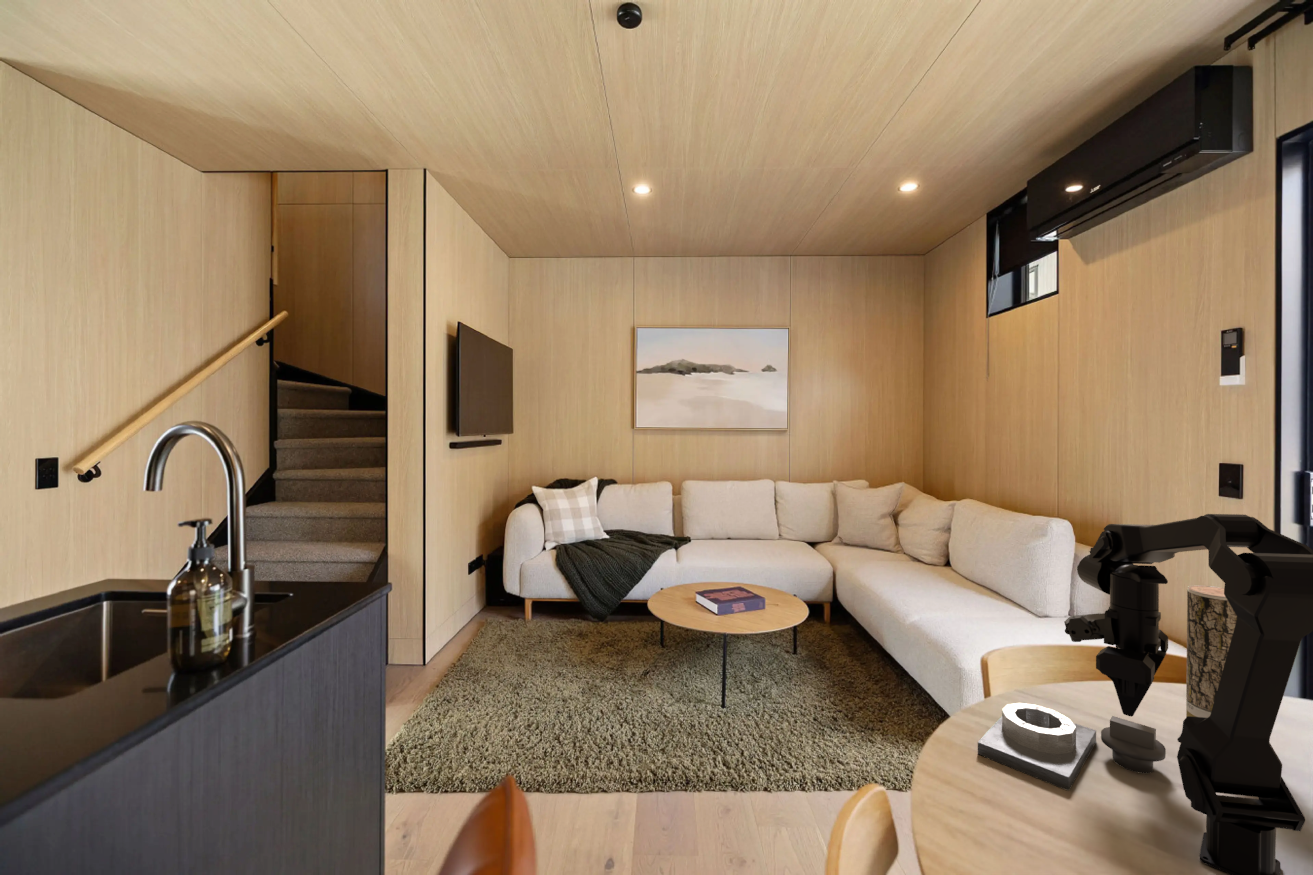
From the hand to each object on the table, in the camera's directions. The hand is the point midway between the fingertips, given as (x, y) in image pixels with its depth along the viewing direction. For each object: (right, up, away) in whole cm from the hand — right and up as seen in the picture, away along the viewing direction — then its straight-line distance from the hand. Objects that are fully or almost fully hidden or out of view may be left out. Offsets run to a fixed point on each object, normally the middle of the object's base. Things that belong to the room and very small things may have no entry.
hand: (1133, 704), depth 85 cm
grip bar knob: (0, -9, 0) cm, 9 cm away
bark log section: (+19, -9, +6) cm, 22 cm away
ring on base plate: (-12, -9, +5) cm, 16 cm away
